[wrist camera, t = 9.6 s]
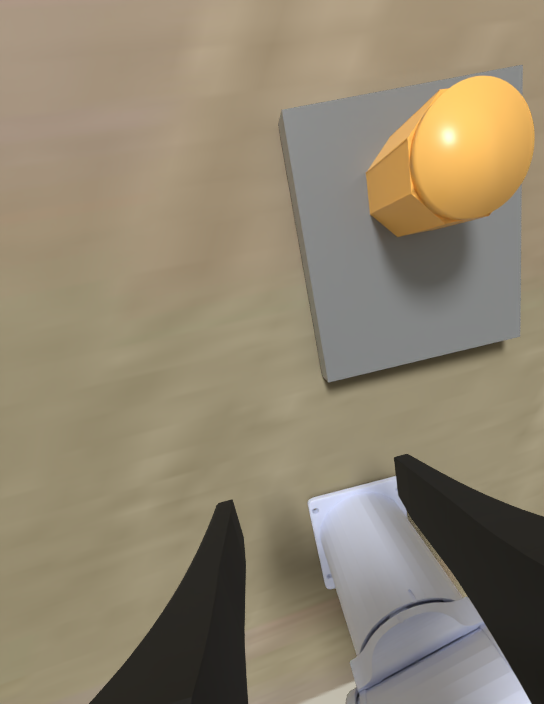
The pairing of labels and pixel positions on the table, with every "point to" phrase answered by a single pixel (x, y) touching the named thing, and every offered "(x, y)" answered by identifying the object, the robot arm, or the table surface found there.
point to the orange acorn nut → (453, 158)
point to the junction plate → (392, 244)
